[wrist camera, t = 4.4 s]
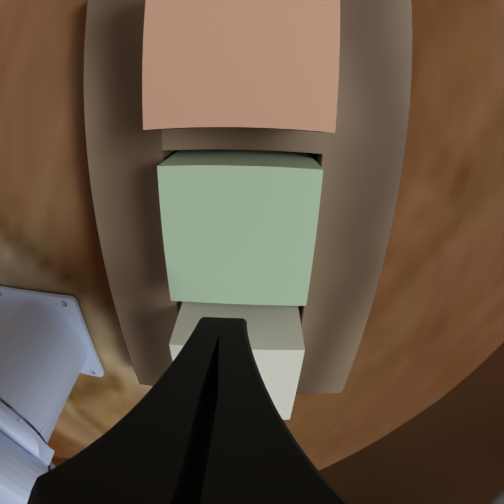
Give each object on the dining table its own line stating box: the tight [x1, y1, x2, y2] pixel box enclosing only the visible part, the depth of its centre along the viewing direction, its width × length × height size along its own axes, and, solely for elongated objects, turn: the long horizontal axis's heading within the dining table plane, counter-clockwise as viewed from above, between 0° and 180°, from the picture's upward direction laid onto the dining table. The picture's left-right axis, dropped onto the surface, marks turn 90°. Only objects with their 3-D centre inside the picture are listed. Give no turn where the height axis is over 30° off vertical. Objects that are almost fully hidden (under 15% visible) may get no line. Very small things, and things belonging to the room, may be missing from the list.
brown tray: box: [84, 0, 412, 394], centre depth 15 cm, size 14×24×2 cm, turn 179°
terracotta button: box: [142, 0, 340, 133], centre depth 9 cm, size 6×6×4 cm
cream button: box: [169, 301, 305, 420], centre depth 16 cm, size 6×6×4 cm
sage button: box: [157, 150, 323, 306], centre depth 14 cm, size 6×6×4 cm
